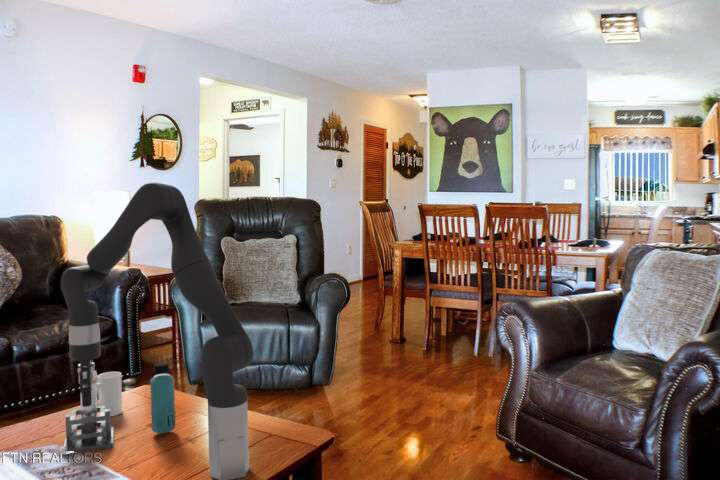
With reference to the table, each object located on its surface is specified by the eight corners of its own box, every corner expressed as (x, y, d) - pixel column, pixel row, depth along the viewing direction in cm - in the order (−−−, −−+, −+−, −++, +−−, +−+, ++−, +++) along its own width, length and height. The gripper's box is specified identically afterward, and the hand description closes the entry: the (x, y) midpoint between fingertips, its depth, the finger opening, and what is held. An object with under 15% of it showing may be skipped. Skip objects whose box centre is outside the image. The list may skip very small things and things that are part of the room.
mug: (109, 408, 184) (108, 370, 183) (127, 410, 181) (126, 372, 181) (85, 419, 174) (83, 380, 173) (104, 422, 172) (102, 382, 171)
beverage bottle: (168, 439, 159) (166, 367, 158) (146, 437, 161) (144, 366, 159) (180, 430, 166) (178, 360, 164) (159, 428, 167) (156, 359, 165)
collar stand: (113, 447, 154) (112, 417, 154) (62, 455, 150) (61, 424, 149) (113, 430, 166) (112, 402, 165) (66, 437, 161) (65, 408, 160)
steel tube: (97, 439, 157) (96, 374, 155) (80, 442, 155) (79, 375, 154) (97, 434, 160) (97, 369, 159) (81, 436, 159) (80, 371, 157)
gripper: (99, 345, 151) (102, 409, 152) (101, 333, 164) (103, 392, 165) (66, 348, 148) (70, 413, 149) (71, 335, 161) (74, 396, 162)
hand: (87, 402), depth 157 cm, fingers open, 5 cm apart
